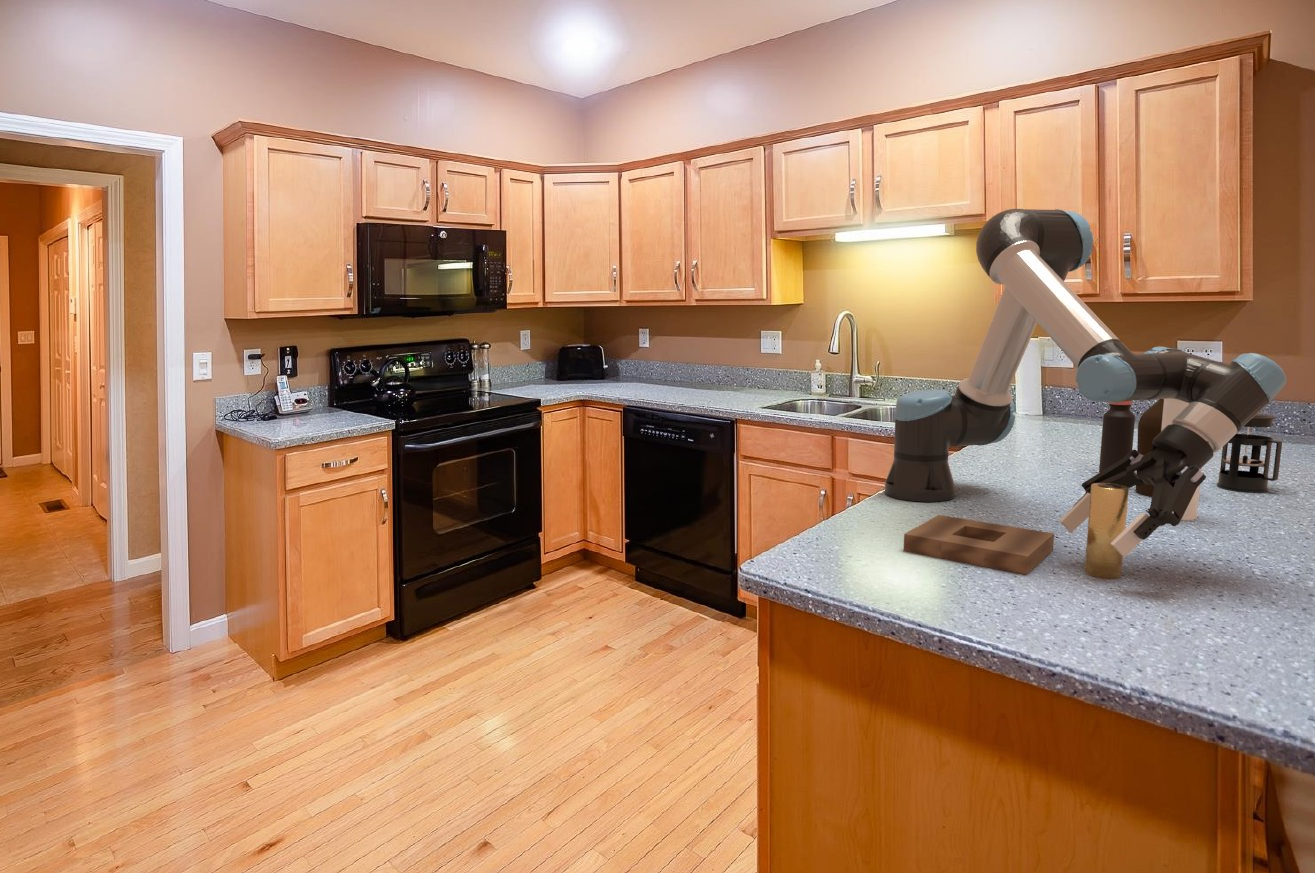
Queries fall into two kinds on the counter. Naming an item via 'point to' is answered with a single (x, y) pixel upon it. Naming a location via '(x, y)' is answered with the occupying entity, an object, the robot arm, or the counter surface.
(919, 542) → the walnut jig plate
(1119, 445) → the bottle
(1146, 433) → the olive oil
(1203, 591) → the counter surface
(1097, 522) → the brass bushing
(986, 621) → the counter surface
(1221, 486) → the french press
